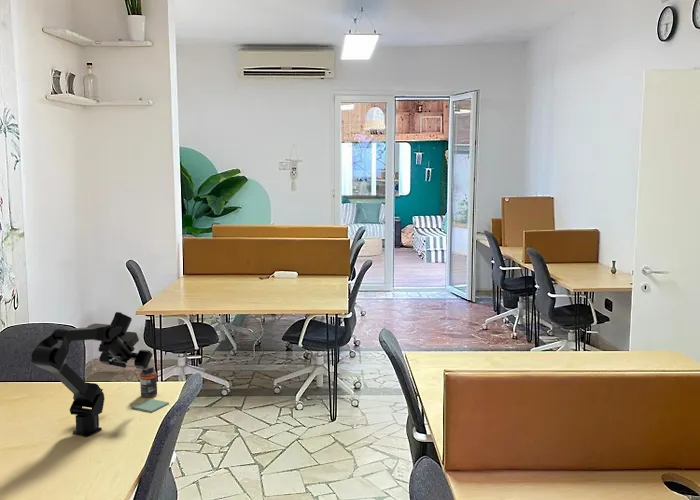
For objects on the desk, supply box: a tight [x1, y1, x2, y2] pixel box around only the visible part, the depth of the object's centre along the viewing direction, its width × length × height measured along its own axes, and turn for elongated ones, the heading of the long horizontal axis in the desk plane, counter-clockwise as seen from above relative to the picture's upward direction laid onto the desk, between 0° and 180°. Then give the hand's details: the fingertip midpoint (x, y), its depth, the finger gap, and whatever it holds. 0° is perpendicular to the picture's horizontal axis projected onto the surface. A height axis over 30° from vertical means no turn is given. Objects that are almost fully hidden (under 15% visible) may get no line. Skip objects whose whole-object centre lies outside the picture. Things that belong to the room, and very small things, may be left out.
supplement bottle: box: [139, 364, 158, 399], centre depth 239 cm, size 6×6×11 cm
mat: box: [131, 397, 170, 414], centre depth 230 cm, size 9×9×1 cm
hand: (136, 367), depth 232 cm, fingers open, 9 cm apart
